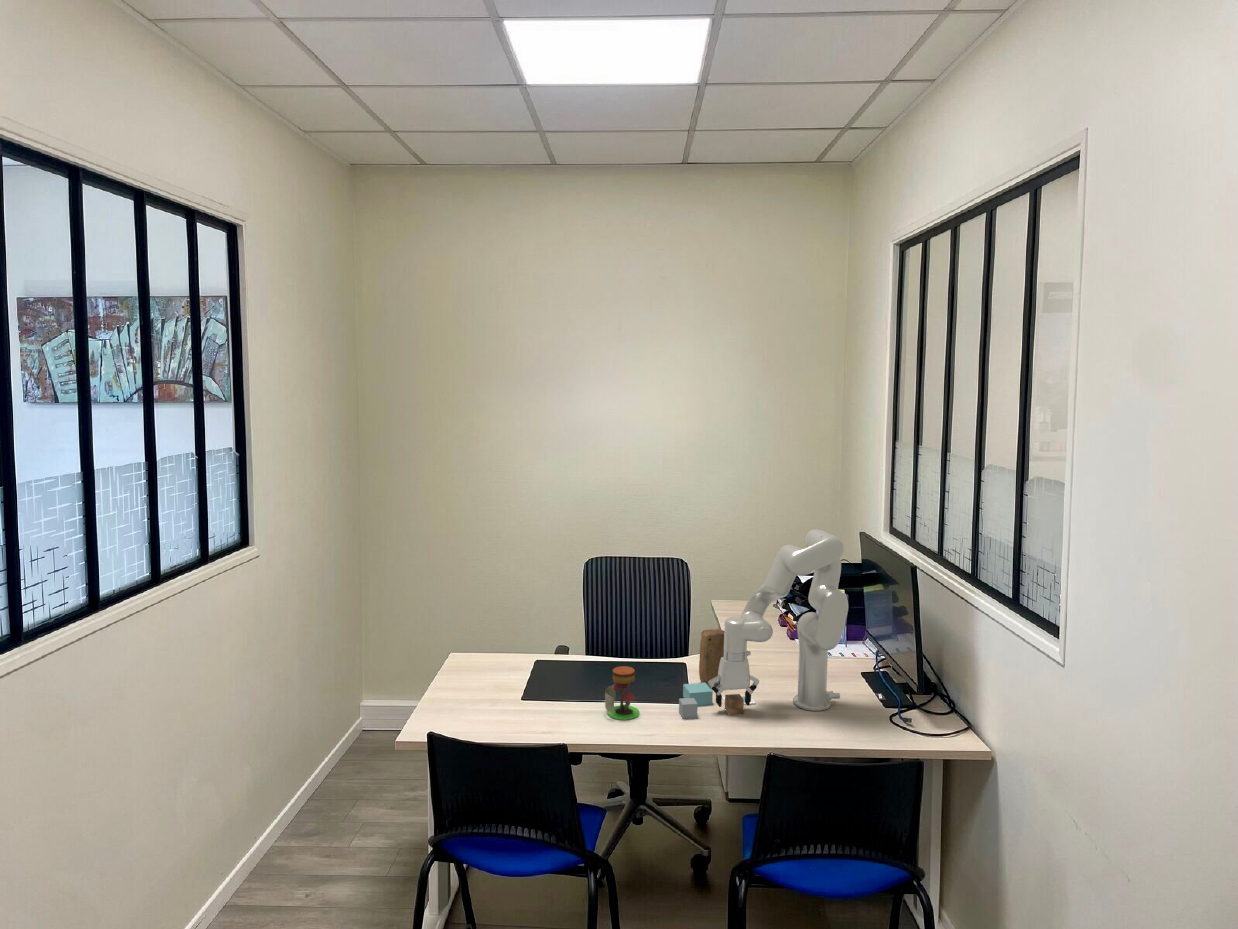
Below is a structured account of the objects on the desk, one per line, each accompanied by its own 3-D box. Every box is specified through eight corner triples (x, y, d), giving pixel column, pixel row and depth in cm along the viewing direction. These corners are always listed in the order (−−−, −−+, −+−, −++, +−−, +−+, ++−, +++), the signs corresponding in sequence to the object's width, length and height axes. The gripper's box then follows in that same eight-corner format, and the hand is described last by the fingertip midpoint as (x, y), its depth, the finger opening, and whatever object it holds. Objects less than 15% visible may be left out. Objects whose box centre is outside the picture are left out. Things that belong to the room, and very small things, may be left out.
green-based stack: (636, 704, 282) (637, 661, 281) (644, 719, 270) (644, 675, 268) (602, 706, 280) (602, 663, 279) (608, 722, 268) (608, 677, 266)
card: (749, 696, 290) (749, 694, 290) (755, 704, 283) (755, 702, 283) (721, 697, 288) (721, 696, 288) (727, 706, 281) (727, 704, 281)
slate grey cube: (693, 712, 276) (693, 697, 276) (697, 718, 272) (697, 703, 271) (678, 713, 276) (679, 698, 275) (682, 719, 271) (682, 704, 270)
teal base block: (705, 696, 290) (705, 682, 289) (712, 705, 282) (712, 691, 282) (683, 698, 288) (683, 684, 288) (689, 707, 281) (689, 693, 280)
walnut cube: (739, 708, 280) (739, 694, 279) (743, 714, 275) (743, 699, 274) (724, 709, 279) (725, 694, 279) (728, 715, 274) (729, 700, 274)
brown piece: (703, 689, 296) (704, 634, 294) (697, 681, 303) (698, 628, 301) (732, 687, 298) (733, 633, 295) (726, 679, 305) (727, 626, 303)
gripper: (756, 650, 280) (754, 699, 282) (706, 652, 277) (705, 701, 279) (763, 658, 272) (761, 708, 274) (712, 660, 270) (710, 710, 272)
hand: (733, 704), depth 277 cm, fingers open, 9 cm apart
